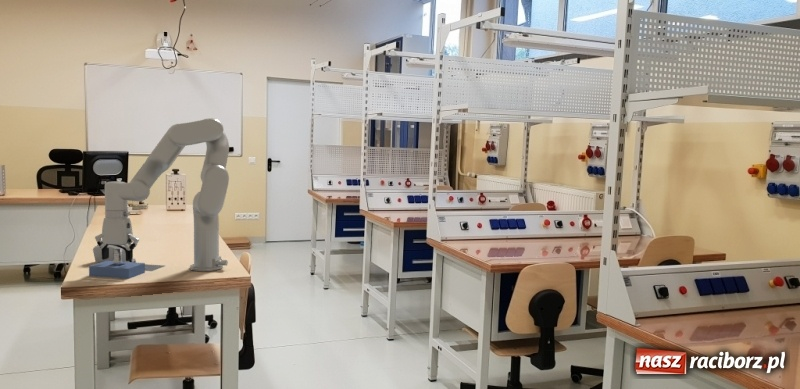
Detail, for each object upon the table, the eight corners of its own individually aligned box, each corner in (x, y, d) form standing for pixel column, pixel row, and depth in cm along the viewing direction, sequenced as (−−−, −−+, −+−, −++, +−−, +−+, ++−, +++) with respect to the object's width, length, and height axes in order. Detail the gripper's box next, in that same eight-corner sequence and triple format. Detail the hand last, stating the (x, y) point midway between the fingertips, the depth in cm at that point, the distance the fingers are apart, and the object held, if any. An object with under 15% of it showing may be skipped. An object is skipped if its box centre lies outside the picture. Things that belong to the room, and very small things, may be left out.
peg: (123, 274, 216) (123, 248, 215) (118, 276, 213) (118, 249, 212) (116, 273, 217) (116, 247, 216) (111, 275, 214) (111, 249, 213)
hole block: (144, 273, 219) (144, 263, 218) (128, 279, 209) (128, 268, 209) (106, 270, 221) (106, 260, 221) (89, 276, 211) (89, 266, 211)
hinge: (137, 262, 236) (131, 241, 232) (129, 268, 232) (123, 247, 228) (104, 259, 241) (97, 238, 237) (96, 265, 237) (89, 244, 233)
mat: (166, 266, 231) (166, 265, 231) (151, 271, 222) (151, 271, 222) (134, 264, 233) (134, 263, 233) (118, 269, 224) (118, 268, 224)
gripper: (143, 214, 215) (144, 258, 217) (102, 212, 218) (102, 256, 219) (131, 216, 208) (132, 263, 210) (88, 214, 210) (89, 260, 212)
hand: (117, 259), depth 215 cm, fingers open, 9 cm apart
